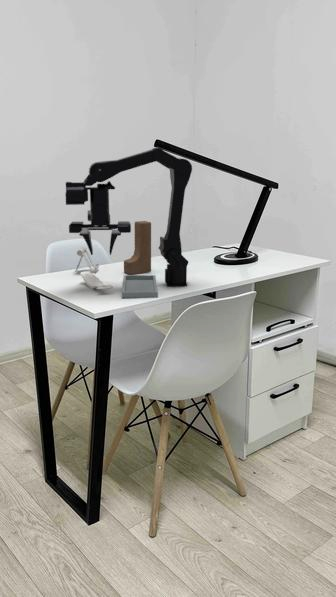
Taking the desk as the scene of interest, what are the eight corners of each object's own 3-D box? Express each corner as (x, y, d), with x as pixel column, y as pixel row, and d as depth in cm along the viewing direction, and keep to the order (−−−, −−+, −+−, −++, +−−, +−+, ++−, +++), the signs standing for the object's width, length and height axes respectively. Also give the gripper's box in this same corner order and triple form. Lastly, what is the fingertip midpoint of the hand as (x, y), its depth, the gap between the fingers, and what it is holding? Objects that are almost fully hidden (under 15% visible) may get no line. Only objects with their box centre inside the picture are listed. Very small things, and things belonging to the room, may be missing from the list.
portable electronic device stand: (96, 273, 198) (95, 250, 196) (74, 273, 198) (73, 250, 196) (99, 268, 207) (98, 245, 204) (77, 268, 207) (77, 245, 204)
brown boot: (129, 275, 196) (129, 223, 191) (123, 272, 199) (122, 222, 195) (151, 272, 201) (151, 222, 196) (145, 269, 204) (144, 220, 199)
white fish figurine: (92, 281, 186) (92, 269, 185) (114, 293, 171) (113, 281, 170) (76, 283, 184) (76, 271, 183) (97, 295, 169) (97, 283, 168)
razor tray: (155, 281, 188) (155, 275, 187) (157, 298, 166) (157, 292, 165) (123, 281, 187) (123, 275, 187) (121, 298, 165) (121, 292, 165)
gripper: (130, 201, 179) (131, 249, 183) (72, 201, 178) (74, 250, 182) (130, 205, 168) (131, 256, 172) (67, 205, 167) (70, 256, 171)
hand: (101, 254), depth 175 cm, fingers open, 5 cm apart
